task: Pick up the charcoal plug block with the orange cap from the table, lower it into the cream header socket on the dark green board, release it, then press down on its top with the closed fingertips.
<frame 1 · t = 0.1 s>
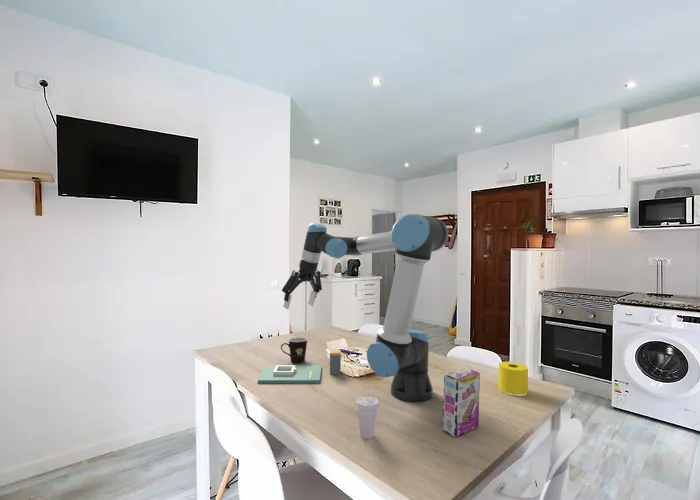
hand: (298, 306, 150), 28 cm above the table, tool tilted 20°, fingers open, 13 cm apart
smoothie: (367, 436, 98), on the table
candy bar box: (461, 430, 102), on the table
board: (291, 375, 145), on the table
coffee mug: (294, 361, 164), on the table
plug: (335, 372, 148), on the table
yellow toilet paper roll: (512, 391, 131), on the table
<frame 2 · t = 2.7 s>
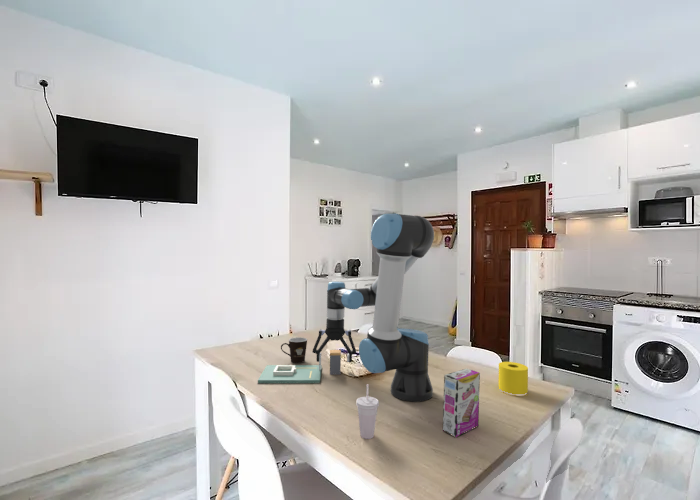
hand: (333, 369, 148), 1 cm above the table, tool pointing down, fingers open, 11 cm apart
nothing on the table moved.
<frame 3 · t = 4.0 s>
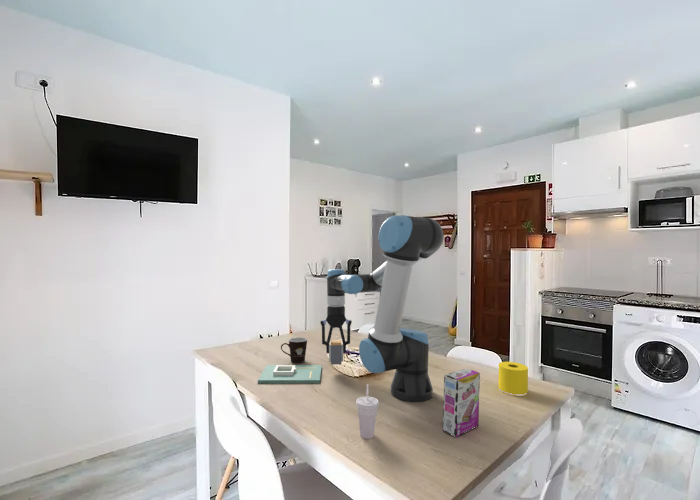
hand: (336, 360, 148), 5 cm above the table, tool pointing down, fingers closed on plug, 4 cm apart
plug: (336, 362, 148), point 4 cm above the table, touching gripper
everything else where it was.
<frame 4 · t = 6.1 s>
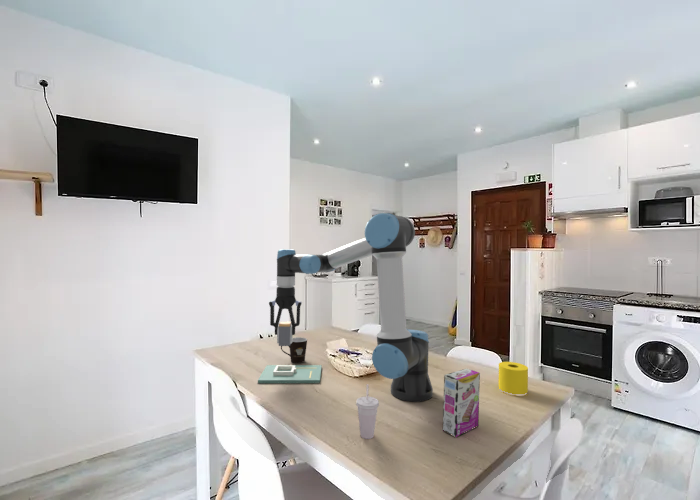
hand: (284, 342, 145), 13 cm above the table, tool pointing down, fingers closed on plug, 4 cm apart
plug: (284, 344, 145), point 13 cm above the table, touching gripper
everything else where it was.
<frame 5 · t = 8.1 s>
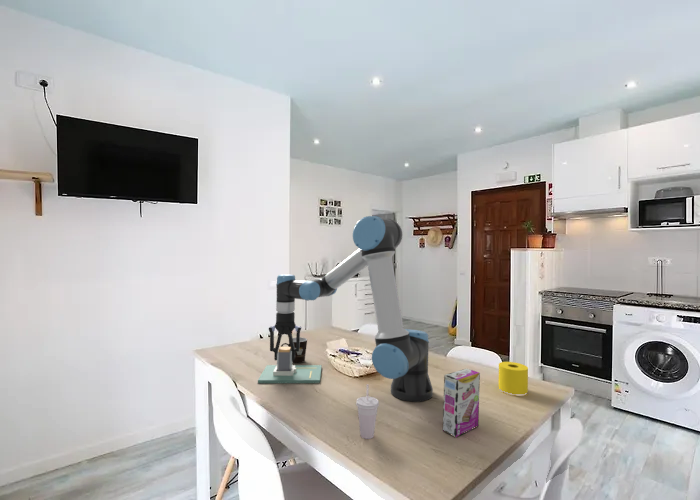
hand: (284, 367, 144), 3 cm above the table, tool pointing down, fingers closed on board, plug, 4 cm apart
plug: (284, 369, 145), point 2 cm above the table, touching gripper
everything else where it was.
when the fingers open (3 cm above the table, at t = 9.2 s): plug stays where it is, resting on board.
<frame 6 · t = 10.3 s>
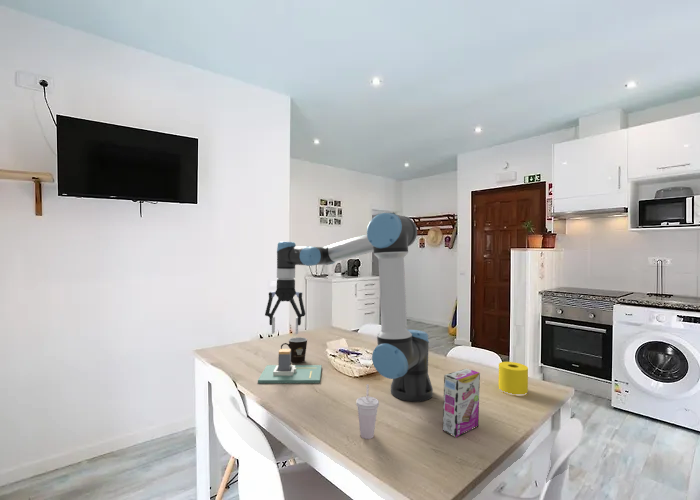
hand: (285, 332, 145), 17 cm above the table, tool pointing down, fingers open, 9 cm apart
plug: (284, 371, 145), point 1 cm above the table, touching board
everything else where it was.
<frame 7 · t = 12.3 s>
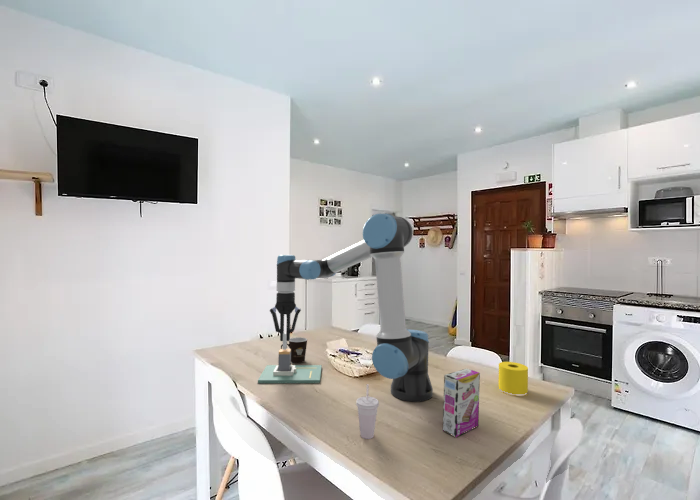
hand: (284, 348, 145), 11 cm above the table, tool pointing down, fingers closed
nothing on the table moved.
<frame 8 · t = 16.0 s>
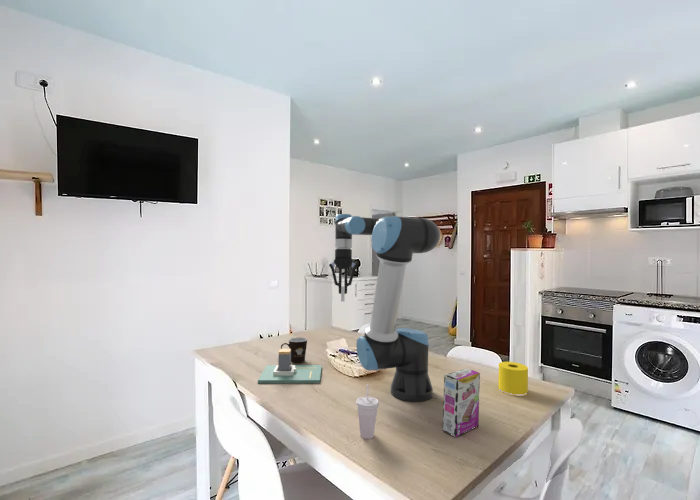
hand: (342, 300, 157), 29 cm above the table, tool pointing down, fingers closed
nothing on the table moved.
at the end: plug 0.2 cm from the target spot on the board, point 1.2 cm above the board's base; plug tilted 0°; the gripper is holding nothing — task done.
